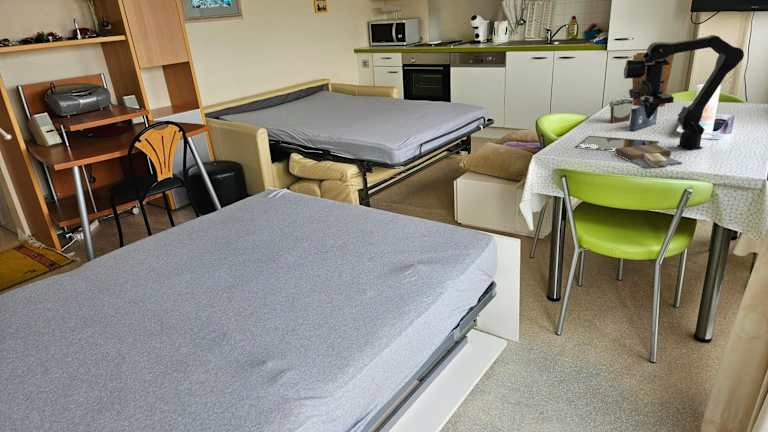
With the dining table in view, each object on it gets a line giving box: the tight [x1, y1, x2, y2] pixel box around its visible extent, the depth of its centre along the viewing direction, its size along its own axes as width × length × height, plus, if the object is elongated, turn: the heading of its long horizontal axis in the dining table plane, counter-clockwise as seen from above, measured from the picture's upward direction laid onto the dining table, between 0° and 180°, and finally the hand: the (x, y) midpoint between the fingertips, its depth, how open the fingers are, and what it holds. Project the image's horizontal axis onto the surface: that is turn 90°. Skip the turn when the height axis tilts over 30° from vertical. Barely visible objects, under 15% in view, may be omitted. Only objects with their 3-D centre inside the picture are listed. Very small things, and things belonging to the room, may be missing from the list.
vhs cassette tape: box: [629, 106, 659, 132], centre depth 234 cm, size 18×3×10 cm, turn 124°
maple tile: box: [644, 153, 667, 167], centre depth 186 cm, size 5×9×2 cm, turn 171°
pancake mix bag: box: [631, 52, 676, 107], centre depth 271 cm, size 7×19×28 cm, turn 57°
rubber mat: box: [631, 156, 683, 169], centre depth 188 cm, size 14×9×1 cm, turn 99°
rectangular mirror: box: [575, 135, 660, 152], centre depth 212 cm, size 19×1×28 cm
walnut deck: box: [615, 144, 672, 162], centre depth 196 cm, size 16×10×2 cm, turn 99°
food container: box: [609, 98, 634, 124], centre depth 248 cm, size 12×6×10 cm, turn 108°
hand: (648, 118), depth 201 cm, fingers closed
